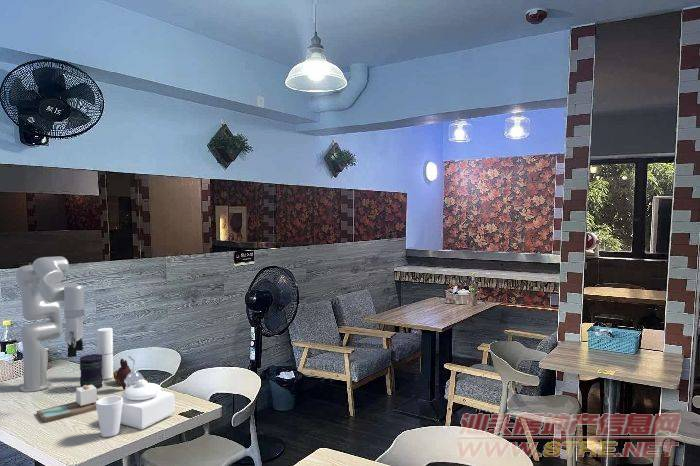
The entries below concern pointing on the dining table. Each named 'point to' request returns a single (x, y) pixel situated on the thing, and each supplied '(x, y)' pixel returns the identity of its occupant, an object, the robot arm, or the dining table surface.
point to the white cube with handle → (86, 395)
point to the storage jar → (91, 370)
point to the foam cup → (109, 414)
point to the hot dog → (116, 378)
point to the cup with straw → (133, 376)
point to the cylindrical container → (106, 351)
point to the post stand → (64, 411)
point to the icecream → (123, 372)
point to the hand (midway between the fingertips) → (75, 353)
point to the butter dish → (146, 404)
